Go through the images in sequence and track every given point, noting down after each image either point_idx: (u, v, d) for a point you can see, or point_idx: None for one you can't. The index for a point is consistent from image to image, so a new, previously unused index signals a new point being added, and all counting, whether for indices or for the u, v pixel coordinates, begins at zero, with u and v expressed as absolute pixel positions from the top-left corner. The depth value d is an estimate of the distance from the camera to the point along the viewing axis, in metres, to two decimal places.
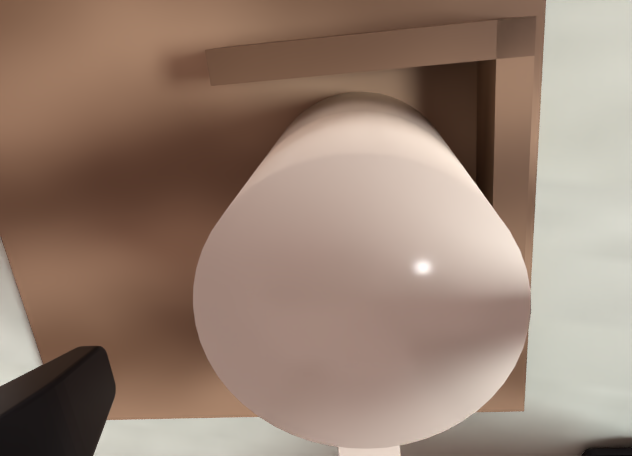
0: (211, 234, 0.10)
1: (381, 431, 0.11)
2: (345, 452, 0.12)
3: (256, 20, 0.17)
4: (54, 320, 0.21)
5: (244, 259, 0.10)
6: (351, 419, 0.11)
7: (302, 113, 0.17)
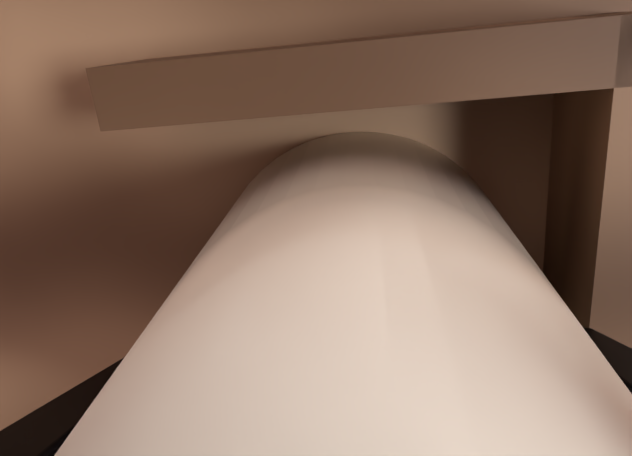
0: None
1: None
2: None
3: (193, 16, 0.10)
4: None
5: None
6: None
7: (268, 167, 0.11)
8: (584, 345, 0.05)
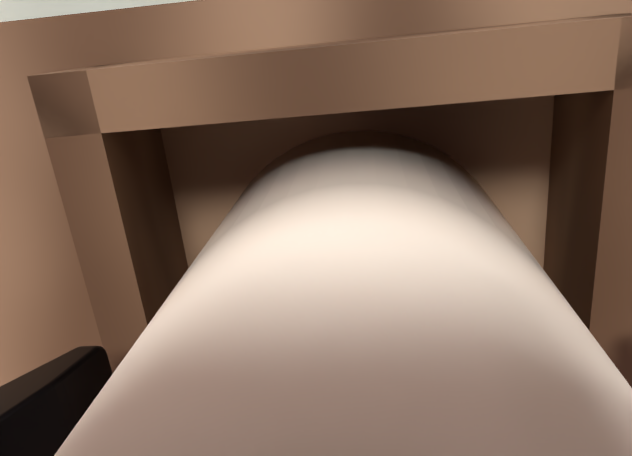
0: None
1: None
2: None
3: None
4: None
5: None
6: None
7: (269, 166, 0.11)
8: (586, 343, 0.05)
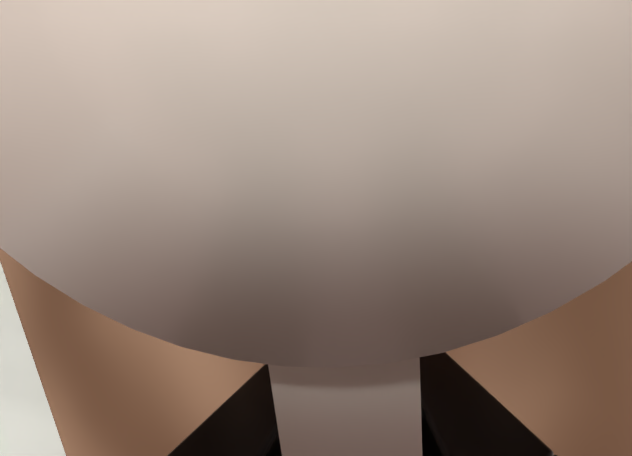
0: None
1: (373, 315, 0.04)
2: (287, 389, 0.05)
3: None
4: None
5: None
6: (289, 280, 0.04)
7: None
8: None
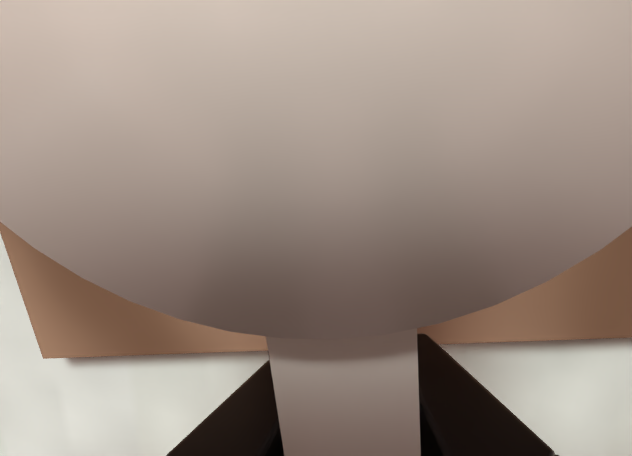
0: None
1: (370, 286, 0.04)
2: (286, 364, 0.05)
3: None
4: (557, 303, 0.14)
5: None
6: (286, 251, 0.04)
7: None
8: None
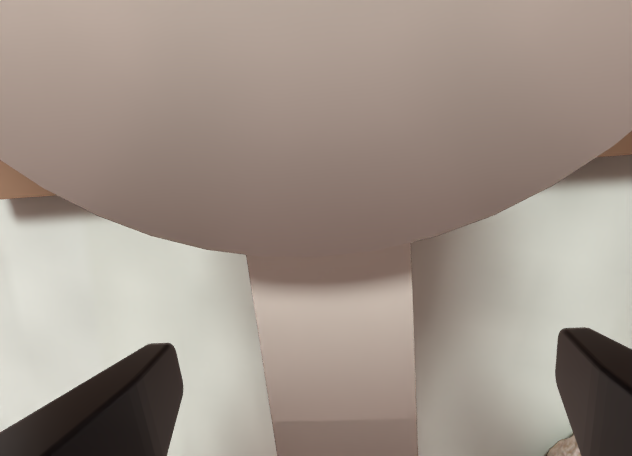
0: None
1: (358, 194, 0.04)
2: (271, 301, 0.05)
3: None
4: None
5: None
6: (266, 153, 0.04)
7: None
8: None
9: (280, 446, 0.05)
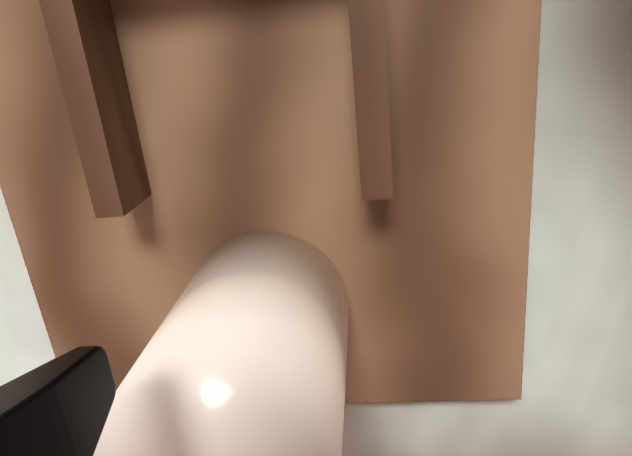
0: None
1: None
2: None
3: None
4: (396, 380, 0.22)
5: (120, 443, 0.13)
6: None
7: (215, 251, 0.20)
8: (299, 345, 0.14)
9: None
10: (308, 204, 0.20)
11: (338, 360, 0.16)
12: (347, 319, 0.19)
